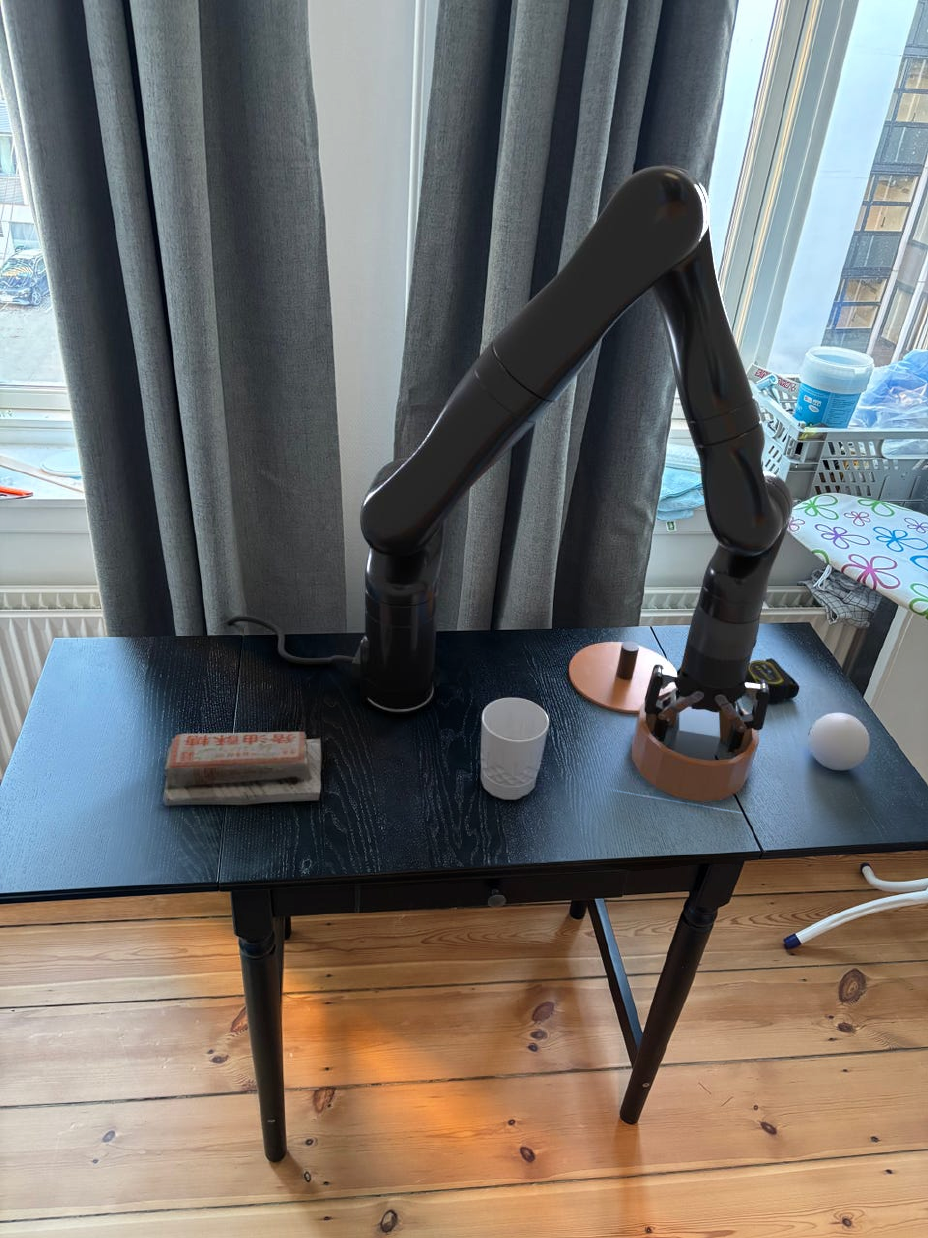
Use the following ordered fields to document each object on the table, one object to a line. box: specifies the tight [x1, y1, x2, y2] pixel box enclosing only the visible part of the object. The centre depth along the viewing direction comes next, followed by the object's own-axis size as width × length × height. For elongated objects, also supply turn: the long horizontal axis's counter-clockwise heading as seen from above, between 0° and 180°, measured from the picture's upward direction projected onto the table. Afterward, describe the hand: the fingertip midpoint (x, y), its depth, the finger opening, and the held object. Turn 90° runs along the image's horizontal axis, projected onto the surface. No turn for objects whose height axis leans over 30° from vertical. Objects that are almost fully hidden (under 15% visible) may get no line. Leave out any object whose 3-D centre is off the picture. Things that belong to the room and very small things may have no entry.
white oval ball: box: [807, 708, 871, 771], centre depth 123 cm, size 10×7×7 cm
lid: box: [568, 640, 677, 714], centre depth 134 cm, size 16×16×6 cm
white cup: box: [480, 697, 550, 801], centre depth 115 cm, size 8×8×10 cm
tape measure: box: [745, 657, 800, 705], centre depth 134 cm, size 7×7×4 cm
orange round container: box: [630, 688, 760, 803], centre depth 120 cm, size 15×15×6 cm
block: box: [669, 707, 721, 761], centre depth 120 cm, size 5×5×6 cm
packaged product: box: [162, 731, 322, 807], centre depth 114 cm, size 18×5×10 cm
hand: (695, 743), depth 120 cm, fingers open, 8 cm apart
